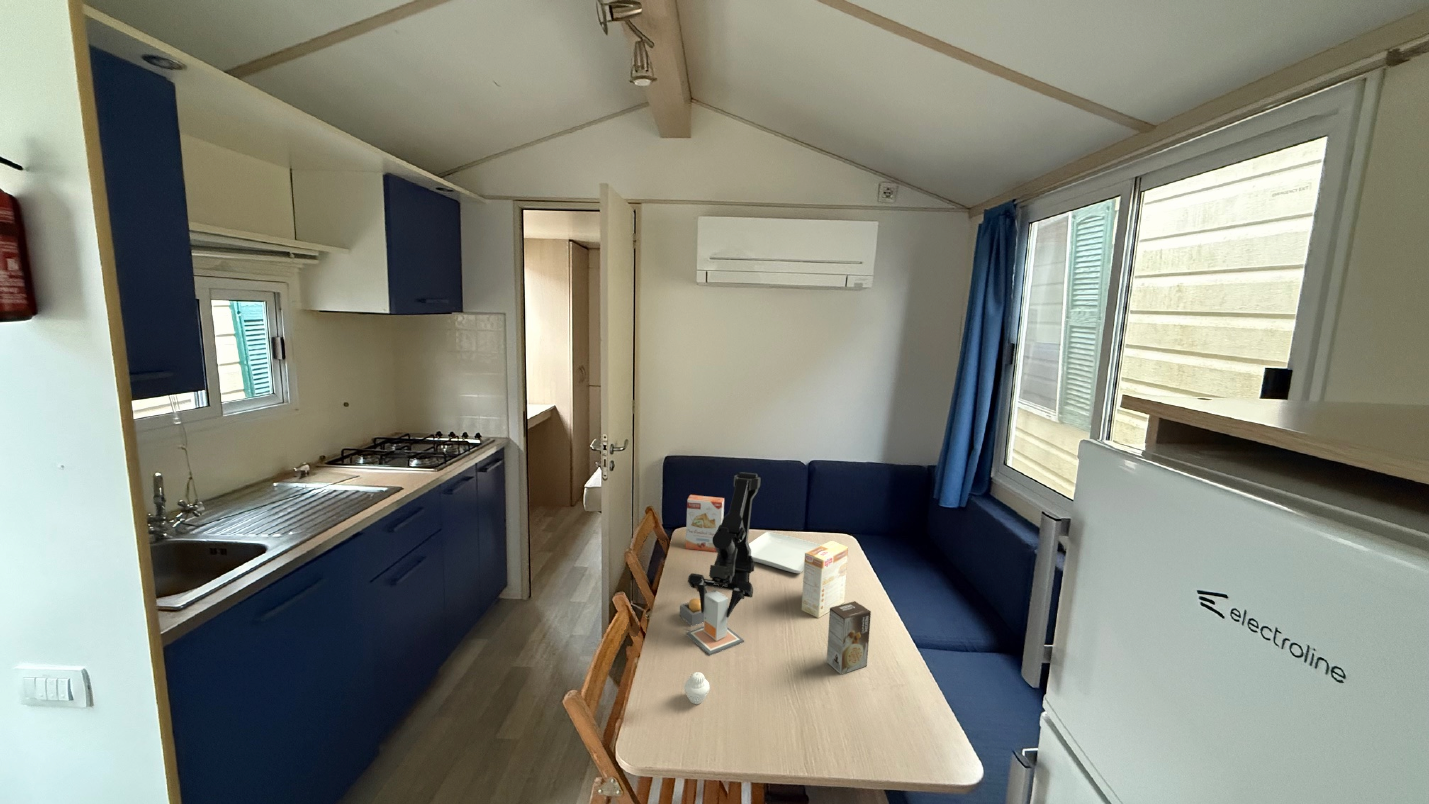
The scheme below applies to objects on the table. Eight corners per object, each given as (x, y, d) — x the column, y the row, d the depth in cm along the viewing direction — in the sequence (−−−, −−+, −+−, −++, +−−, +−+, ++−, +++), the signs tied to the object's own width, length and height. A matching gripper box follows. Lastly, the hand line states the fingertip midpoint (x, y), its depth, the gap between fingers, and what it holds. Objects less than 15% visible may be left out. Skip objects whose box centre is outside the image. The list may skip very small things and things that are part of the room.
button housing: (698, 609, 176) (698, 599, 176) (711, 619, 171) (711, 608, 170) (679, 615, 172) (679, 605, 172) (691, 626, 167) (692, 615, 166)
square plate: (828, 554, 222) (828, 545, 221) (800, 580, 199) (801, 570, 198) (767, 538, 236) (767, 529, 235) (734, 561, 213) (735, 551, 212)
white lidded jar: (695, 687, 139) (696, 662, 138) (714, 699, 135) (715, 672, 134) (678, 700, 134) (679, 674, 133) (697, 712, 131) (698, 685, 130)
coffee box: (851, 653, 156) (855, 600, 153) (867, 666, 150) (872, 611, 148) (825, 661, 152) (829, 607, 149) (840, 675, 146) (845, 618, 144)
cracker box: (685, 549, 220) (686, 498, 217) (688, 543, 226) (689, 494, 223) (720, 553, 218) (722, 502, 215) (722, 547, 224) (724, 497, 221)
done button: (697, 606, 174) (697, 597, 173) (704, 612, 171) (704, 602, 170) (686, 609, 171) (686, 600, 171) (693, 615, 168) (693, 606, 168)
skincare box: (702, 631, 162) (704, 593, 160) (714, 626, 164) (715, 589, 162) (716, 641, 157) (717, 602, 155) (727, 636, 160) (729, 597, 158)
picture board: (719, 622, 169) (719, 620, 169) (744, 642, 159) (744, 639, 159) (686, 634, 162) (686, 632, 162) (709, 655, 153) (709, 653, 152)
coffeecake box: (827, 594, 189) (830, 539, 186) (845, 602, 184) (849, 546, 181) (800, 609, 178) (803, 552, 175) (818, 619, 173) (822, 559, 170)
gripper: (690, 547, 163) (677, 601, 154) (753, 556, 158) (743, 612, 150) (697, 561, 172) (685, 612, 163) (757, 570, 167) (748, 623, 159)
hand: (714, 615), depth 158 cm, fingers open, 7 cm apart
